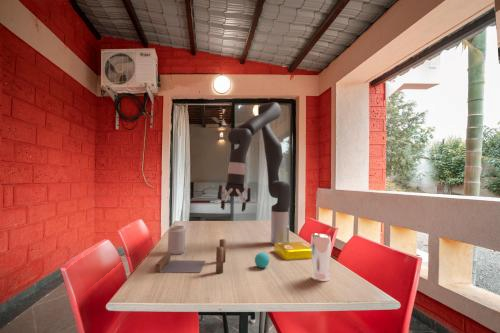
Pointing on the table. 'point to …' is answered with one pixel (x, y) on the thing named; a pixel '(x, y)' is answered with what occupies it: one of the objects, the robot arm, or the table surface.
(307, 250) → the element tile
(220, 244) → the post
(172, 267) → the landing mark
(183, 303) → the table surface
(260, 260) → the ball
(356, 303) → the table surface
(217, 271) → the post
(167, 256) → the strip
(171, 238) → the can
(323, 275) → the silver metal tumbler
